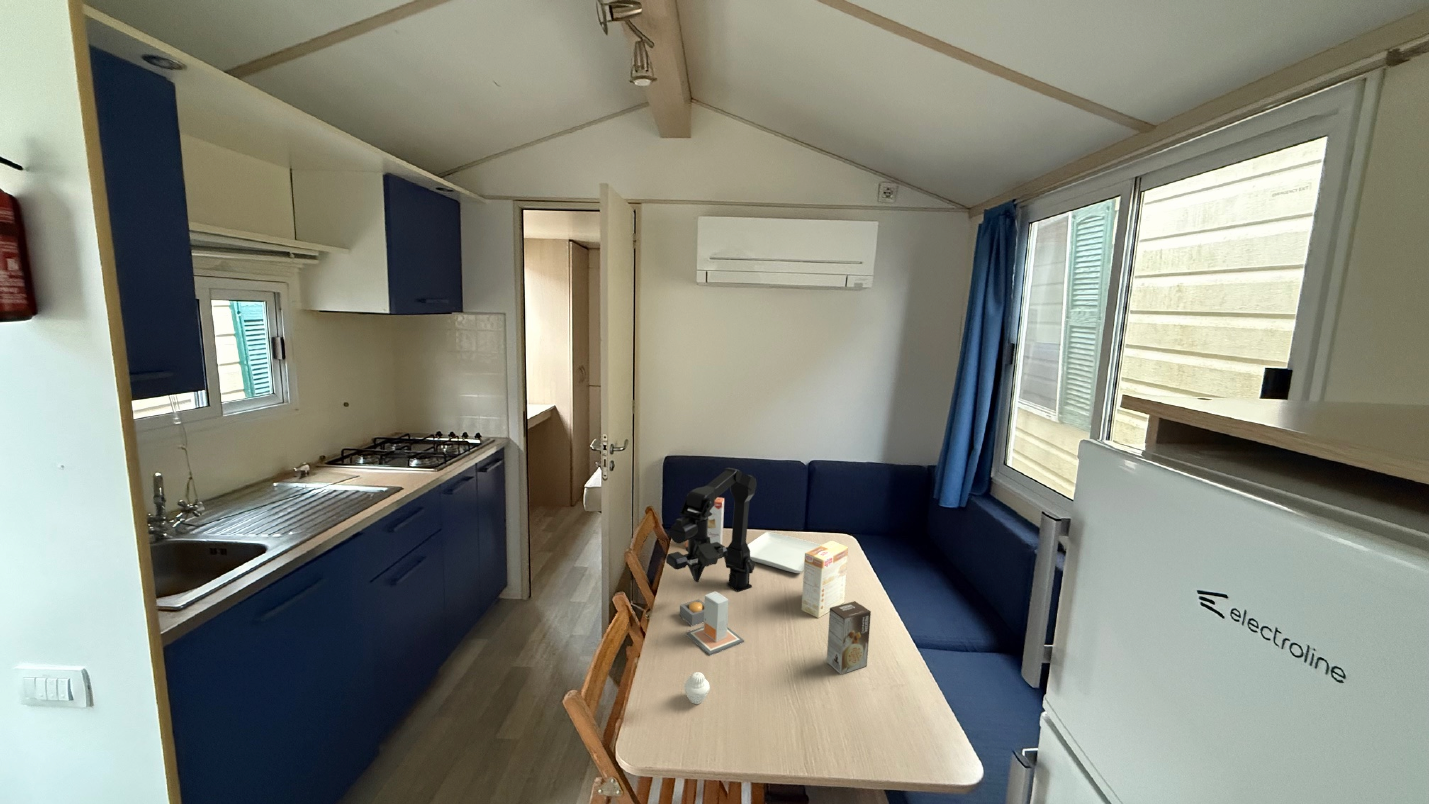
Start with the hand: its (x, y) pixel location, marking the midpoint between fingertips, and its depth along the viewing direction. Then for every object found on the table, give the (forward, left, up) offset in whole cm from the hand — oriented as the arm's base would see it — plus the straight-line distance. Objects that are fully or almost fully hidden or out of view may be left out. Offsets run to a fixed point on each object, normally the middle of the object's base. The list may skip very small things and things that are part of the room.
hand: (696, 581), depth 169 cm
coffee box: (-22, +41, -12) cm, 48 cm away
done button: (0, 0, -11) cm, 11 cm away
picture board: (+1, +12, -12) cm, 17 cm away
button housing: (0, 0, -12) cm, 12 cm away
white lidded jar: (+20, +31, -12) cm, 39 cm away
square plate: (-53, -19, -12) cm, 58 cm away
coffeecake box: (-39, +16, -12) cm, 44 cm away
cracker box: (-31, -41, -12) cm, 53 cm away
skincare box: (+1, +12, -11) cm, 17 cm away
